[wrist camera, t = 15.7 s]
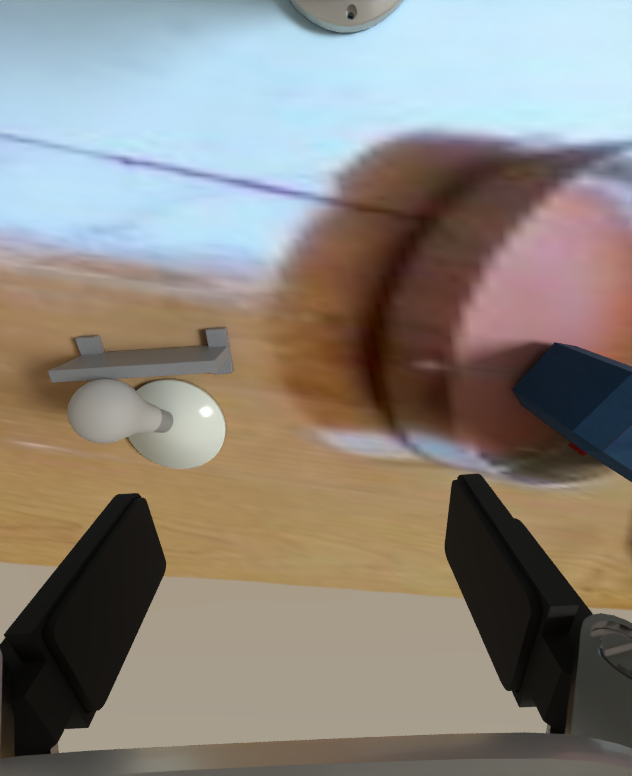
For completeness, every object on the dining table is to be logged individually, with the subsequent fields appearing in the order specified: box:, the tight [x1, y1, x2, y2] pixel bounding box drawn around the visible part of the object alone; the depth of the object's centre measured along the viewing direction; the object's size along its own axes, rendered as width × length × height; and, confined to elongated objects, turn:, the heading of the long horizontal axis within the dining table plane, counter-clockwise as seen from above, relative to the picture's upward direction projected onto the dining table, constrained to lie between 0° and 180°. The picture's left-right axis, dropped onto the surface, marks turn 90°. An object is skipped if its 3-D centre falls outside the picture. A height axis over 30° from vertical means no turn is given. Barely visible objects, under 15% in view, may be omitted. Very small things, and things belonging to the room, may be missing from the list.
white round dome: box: [128, 379, 226, 469], centre depth 40 cm, size 12×12×1 cm
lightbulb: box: [67, 379, 173, 443], centre depth 34 cm, size 6×6×11 cm
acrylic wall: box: [48, 327, 233, 383], centre depth 35 cm, size 5×16×6 cm, turn 94°
